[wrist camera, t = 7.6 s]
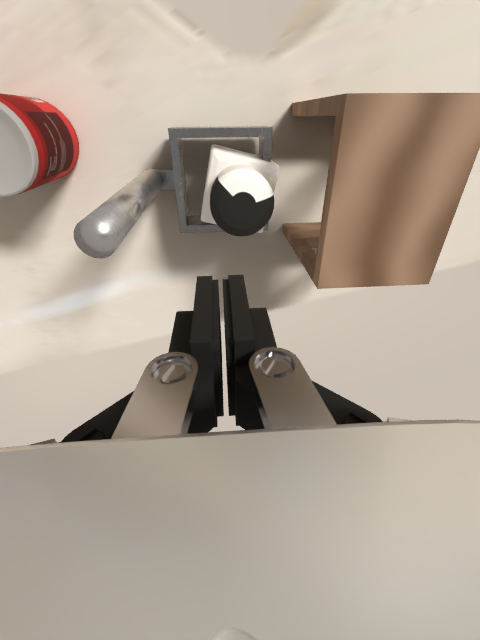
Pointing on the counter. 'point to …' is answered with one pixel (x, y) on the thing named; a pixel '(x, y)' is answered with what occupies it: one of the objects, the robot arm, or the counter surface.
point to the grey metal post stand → (130, 202)
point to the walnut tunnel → (388, 186)
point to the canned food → (33, 144)
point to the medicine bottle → (238, 191)
